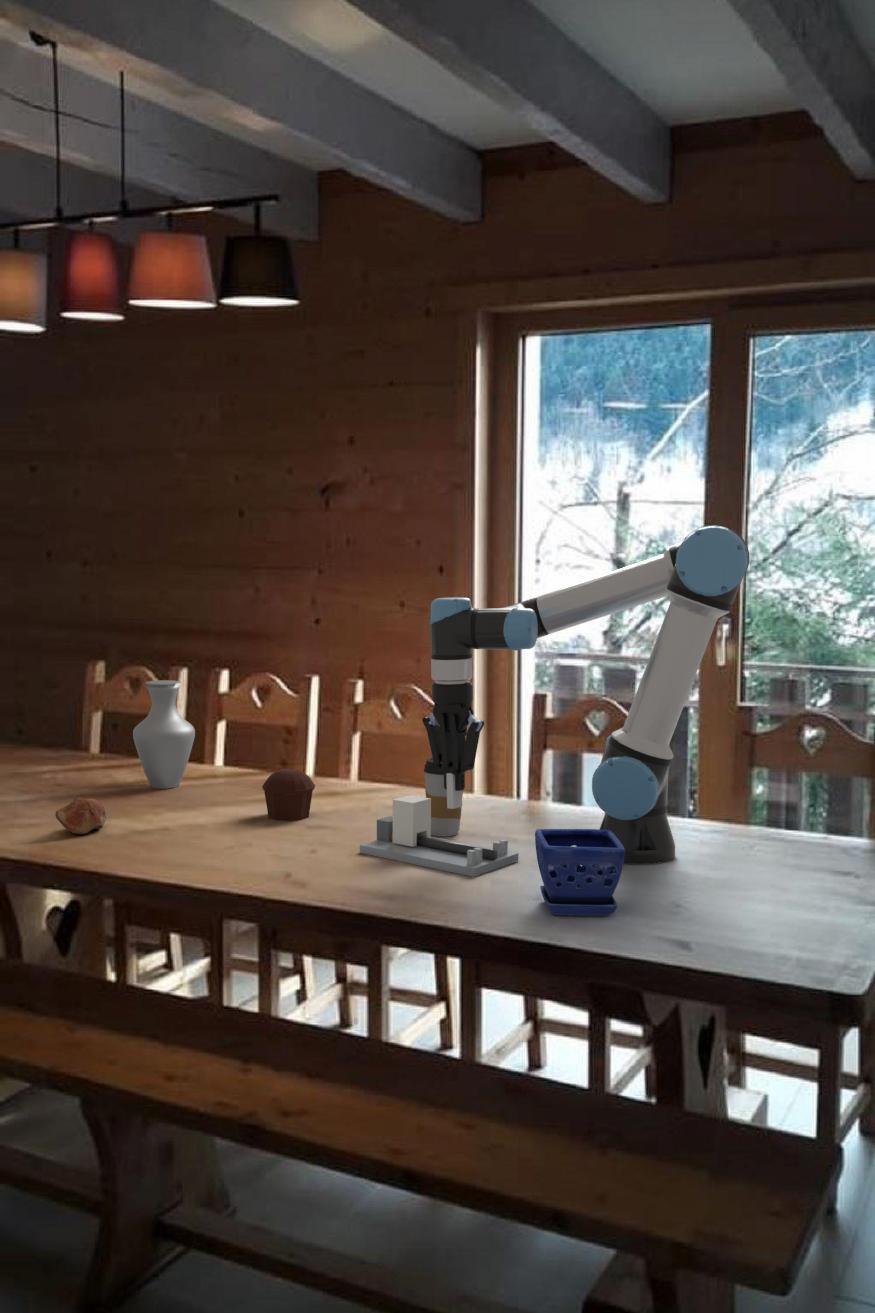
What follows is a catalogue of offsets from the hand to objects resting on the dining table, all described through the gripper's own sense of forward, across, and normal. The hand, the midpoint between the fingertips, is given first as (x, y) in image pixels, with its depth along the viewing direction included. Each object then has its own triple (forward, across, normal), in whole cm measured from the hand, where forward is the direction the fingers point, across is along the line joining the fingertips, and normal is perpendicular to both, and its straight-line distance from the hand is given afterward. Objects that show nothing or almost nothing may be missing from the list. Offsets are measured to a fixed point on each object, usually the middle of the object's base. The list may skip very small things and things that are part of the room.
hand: (454, 807), depth 243 cm
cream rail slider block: (+8, +10, 0) cm, 13 cm away
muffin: (+9, +50, -7) cm, 51 cm away
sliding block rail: (+10, +4, 0) cm, 11 cm away
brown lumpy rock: (+8, +72, +30) cm, 78 cm away
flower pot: (+11, -34, +12) cm, 38 cm away
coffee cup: (+10, +15, -16) cm, 24 cm away
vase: (+8, +95, -11) cm, 96 cm away
